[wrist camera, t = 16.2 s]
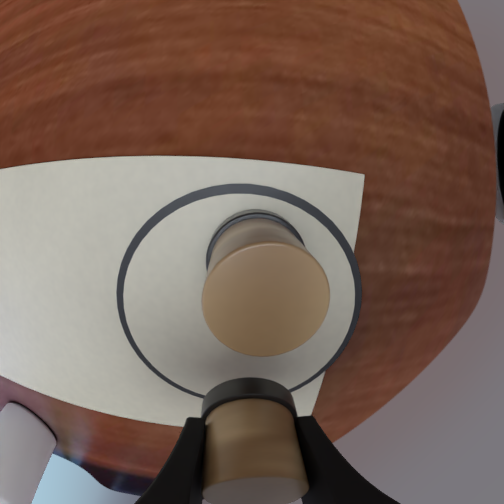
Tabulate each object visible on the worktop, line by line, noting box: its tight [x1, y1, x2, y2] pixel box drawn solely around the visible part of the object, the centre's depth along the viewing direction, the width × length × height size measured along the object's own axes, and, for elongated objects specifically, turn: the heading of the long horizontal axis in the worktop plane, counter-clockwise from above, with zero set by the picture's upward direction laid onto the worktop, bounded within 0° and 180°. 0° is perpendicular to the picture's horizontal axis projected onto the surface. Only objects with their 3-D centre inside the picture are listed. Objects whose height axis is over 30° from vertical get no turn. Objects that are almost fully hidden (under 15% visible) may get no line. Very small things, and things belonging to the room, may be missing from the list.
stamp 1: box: [201, 209, 330, 357], centre depth 10 cm, size 4×4×4 cm
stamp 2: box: [201, 377, 309, 504], centre depth 8 cm, size 4×4×4 cm
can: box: [0, 403, 56, 504], centre depth 10 cm, size 6×6×12 cm
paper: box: [0, 156, 365, 427], centre depth 12 cm, size 37×16×1 cm, turn 85°
